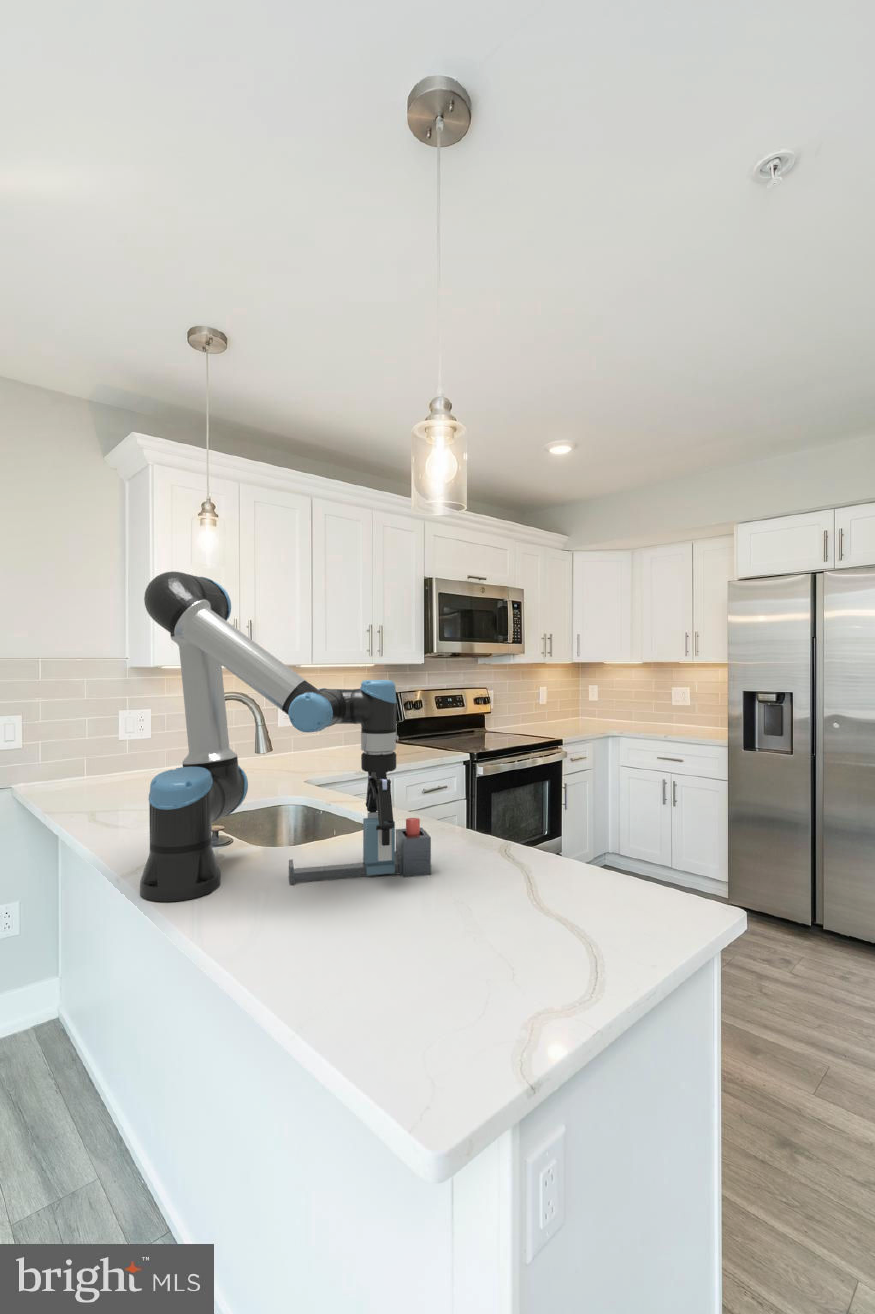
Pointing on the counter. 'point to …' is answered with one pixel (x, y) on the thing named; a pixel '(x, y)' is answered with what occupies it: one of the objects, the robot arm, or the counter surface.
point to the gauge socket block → (414, 853)
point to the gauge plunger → (412, 827)
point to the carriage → (375, 849)
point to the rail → (334, 871)
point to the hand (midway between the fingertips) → (379, 850)
